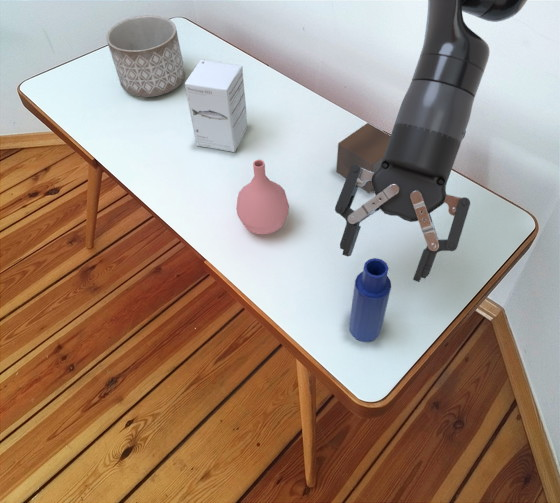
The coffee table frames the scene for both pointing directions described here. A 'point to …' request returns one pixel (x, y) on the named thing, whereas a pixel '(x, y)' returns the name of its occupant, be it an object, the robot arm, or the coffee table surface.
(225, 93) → the white packaging box
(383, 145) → the block
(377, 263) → the bottle
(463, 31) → the robot arm
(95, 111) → the coffee table surface
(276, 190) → the pink bud vase
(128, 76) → the planter
